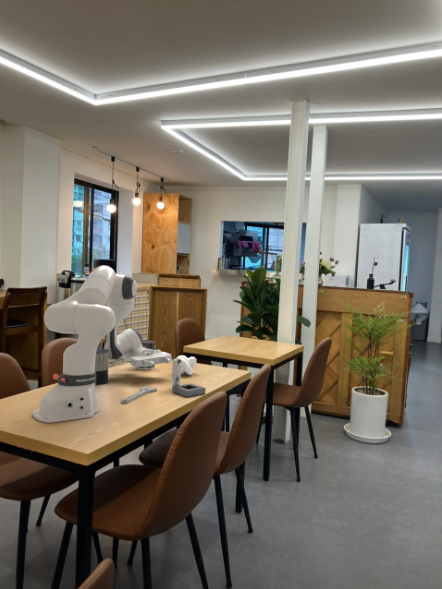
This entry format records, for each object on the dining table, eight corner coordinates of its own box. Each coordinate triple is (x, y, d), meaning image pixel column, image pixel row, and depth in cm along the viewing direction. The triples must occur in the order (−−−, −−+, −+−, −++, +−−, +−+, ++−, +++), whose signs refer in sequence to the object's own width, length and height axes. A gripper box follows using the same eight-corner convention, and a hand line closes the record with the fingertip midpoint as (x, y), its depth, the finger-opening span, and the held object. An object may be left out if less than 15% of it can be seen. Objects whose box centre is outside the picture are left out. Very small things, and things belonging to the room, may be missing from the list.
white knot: (198, 376, 229) (199, 358, 228) (174, 377, 226) (175, 359, 226) (194, 371, 240) (195, 354, 239) (171, 372, 237) (172, 355, 237)
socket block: (186, 397, 190) (187, 391, 190) (172, 392, 198) (172, 386, 198) (205, 393, 197) (205, 387, 197) (190, 388, 204) (190, 383, 204)
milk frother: (109, 384, 208) (110, 351, 207) (73, 386, 203) (73, 352, 202) (106, 377, 221) (107, 346, 221) (72, 379, 216) (72, 347, 216)
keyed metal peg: (176, 390, 201) (177, 360, 200) (169, 388, 205) (170, 358, 204) (182, 389, 203) (183, 359, 203) (175, 387, 207) (176, 357, 206)
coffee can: (151, 370, 241) (152, 343, 240) (132, 369, 242) (133, 342, 242) (157, 366, 251) (158, 340, 250) (139, 365, 252) (139, 339, 252)
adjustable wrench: (126, 405, 178) (126, 401, 178) (112, 403, 181) (112, 399, 181) (159, 390, 201) (159, 386, 201) (146, 388, 204) (146, 384, 204)
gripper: (125, 353, 216) (141, 358, 206) (161, 348, 230) (178, 353, 220) (125, 367, 216) (141, 372, 206) (161, 361, 230) (178, 366, 220)
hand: (160, 362), depth 213 cm, fingers open, 8 cm apart
